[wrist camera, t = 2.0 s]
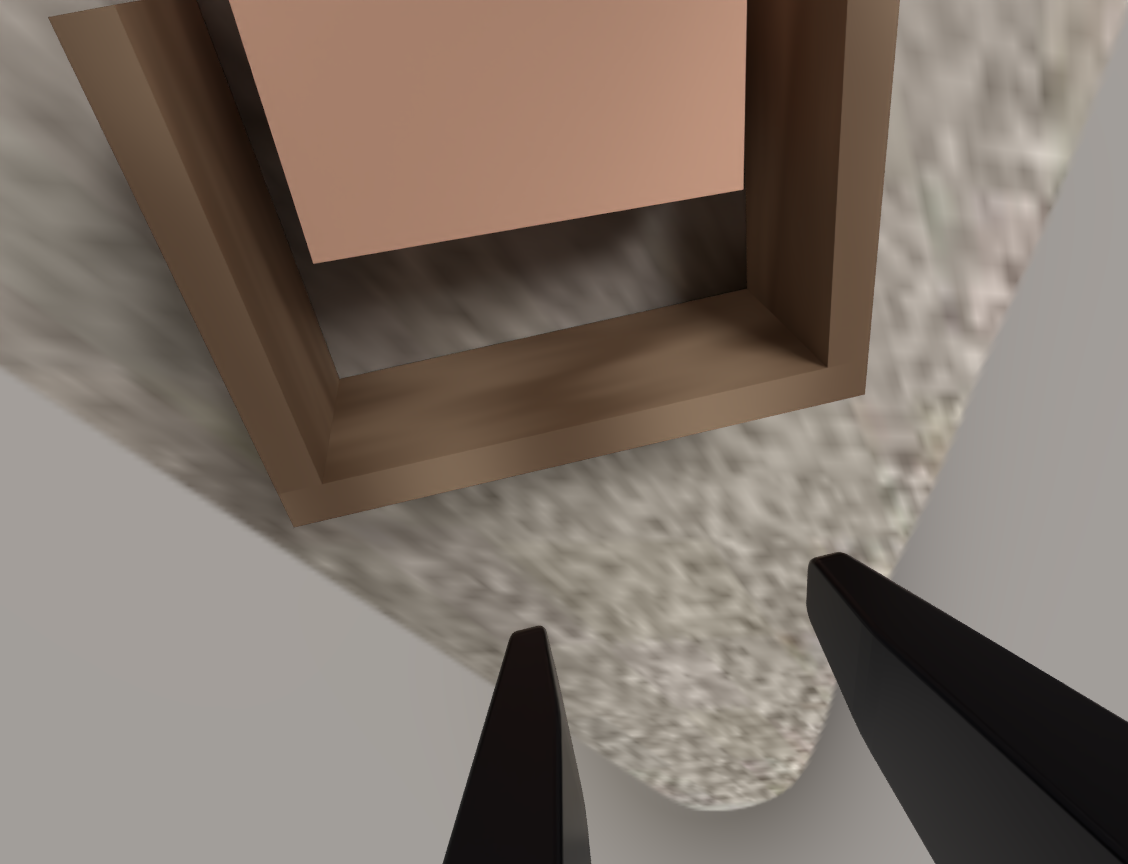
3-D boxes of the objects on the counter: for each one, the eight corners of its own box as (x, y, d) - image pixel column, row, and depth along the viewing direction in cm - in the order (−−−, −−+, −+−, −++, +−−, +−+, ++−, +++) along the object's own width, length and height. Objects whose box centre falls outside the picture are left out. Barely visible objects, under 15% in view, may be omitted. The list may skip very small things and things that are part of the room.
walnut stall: (784, -120, 16) (912, -146, 12) (779, 312, 22) (864, 394, 18) (144, 0, 15) (47, 17, 11) (316, 416, 21) (293, 527, 17)
